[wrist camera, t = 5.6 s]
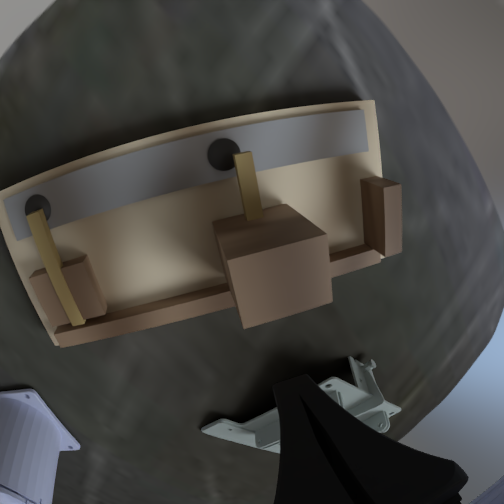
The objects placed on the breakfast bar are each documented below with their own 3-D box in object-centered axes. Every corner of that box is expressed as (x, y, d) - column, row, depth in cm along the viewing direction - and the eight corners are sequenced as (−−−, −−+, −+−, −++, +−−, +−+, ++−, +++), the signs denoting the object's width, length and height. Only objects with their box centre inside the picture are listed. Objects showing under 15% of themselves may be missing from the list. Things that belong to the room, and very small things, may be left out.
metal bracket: (331, 385, 17) (423, 424, 23) (314, 316, 22) (406, 376, 28) (191, 451, 23) (306, 475, 29) (195, 396, 28) (301, 432, 34)
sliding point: (224, 276, 18) (243, 329, 13) (197, 160, 15) (207, 175, 11) (294, 257, 18) (332, 301, 14) (276, 143, 16) (317, 152, 11)
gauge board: (59, 335, 18) (45, 370, 15) (-1, 191, 14) (-32, 207, 11) (375, 250, 21) (406, 272, 18) (363, 100, 17) (399, 99, 14)
